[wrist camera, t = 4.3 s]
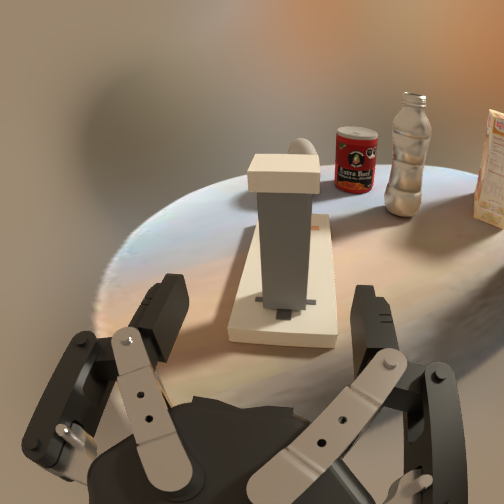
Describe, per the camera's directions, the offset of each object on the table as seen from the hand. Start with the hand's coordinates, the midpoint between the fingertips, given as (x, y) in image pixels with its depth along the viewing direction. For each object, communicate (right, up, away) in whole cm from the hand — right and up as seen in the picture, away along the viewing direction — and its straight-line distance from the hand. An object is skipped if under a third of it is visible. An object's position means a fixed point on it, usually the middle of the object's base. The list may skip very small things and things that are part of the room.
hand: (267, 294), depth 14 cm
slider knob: (+3, -3, +16) cm, 17 cm away
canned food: (+19, +15, +43) cm, 49 cm away
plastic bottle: (+24, +8, +34) cm, 42 cm away
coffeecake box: (+47, +10, +34) cm, 59 cm away
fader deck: (+4, 0, +23) cm, 23 cm away
